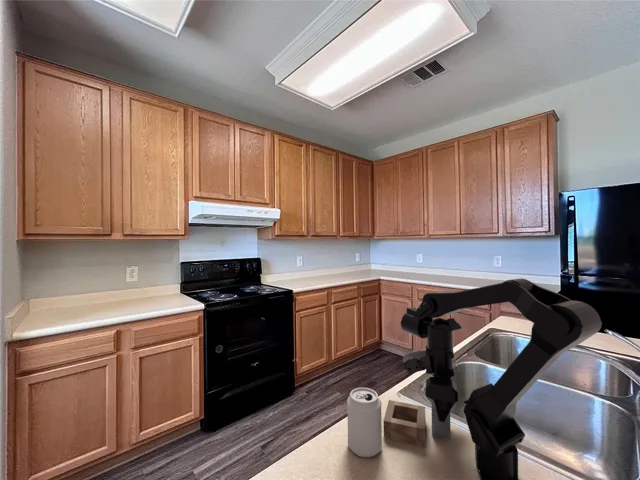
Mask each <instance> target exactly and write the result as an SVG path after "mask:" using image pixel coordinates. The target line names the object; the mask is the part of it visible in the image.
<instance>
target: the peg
mask: <svg viewBox="0 0 640 480" xmlns="http://www.w3.org/2000/svg"><path fill="white" fill-rule="evenodd" d="M430 400H431V437H435V438H440V439H444V440H449V441H451V439H452V438H451V437H452V436H451V431H452V430H451V411H450V412H449V414H448V416H447V418H446V420H445V422H440V421H439V419H438V415H437V411H436V407H435V403H434V401H433V400H432V399H430Z"/></svg>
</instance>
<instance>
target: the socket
mask: <svg viewBox="0 0 640 480" xmlns="http://www.w3.org/2000/svg"><path fill="white" fill-rule="evenodd" d="M426 423H427V422H426V406H424V405H417V404H413V403H408V402H403V401H397V400H391V399H388V402H387V406H386V409H385V414H384V417H383V438H384V439H388V440H393V441H396V442H401V443H405V444H410V445H414V446H418V447H421V448H426V447H425V445H426Z"/></svg>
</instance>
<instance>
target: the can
mask: <svg viewBox="0 0 640 480" xmlns="http://www.w3.org/2000/svg"><path fill="white" fill-rule="evenodd" d="M349 393H350V394H349V396H348V397H347V399H346V403H347V404H346V405H347V407H346V408H347V409H346V410H347V411H346V413H347V445H348V447H349V449H350V450H351V451H352V452H353V453H355V455H357V456H358V457H361V458H371V457H374V456H375V455H377V454H378V453H380V451H381V450H382V446H383V438H382V437H383V436H382V432H383V430H382V428H383V427H382V401H381V399H380V398H379V395H378V393H377V392H376V391H375V390H374V389H372V388H369V387H356V388H354V389H352V390H351V391H350V392H349Z"/></svg>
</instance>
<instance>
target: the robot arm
mask: <svg viewBox="0 0 640 480" xmlns="http://www.w3.org/2000/svg"><path fill="white" fill-rule="evenodd" d="M502 303H510V304H512V305H513V306H514V307H515V309H517V310H518V311H519V312H520V313H521V315H522V316H524V318H526V320H529V322H531V323H532V324H533V325H532V327H531V331H530V332H531V333H530V338H529V339H530V340H529V342H528V343H526V345H525V347H524V348H523V349H522V350H521V351H520V353H519V354H518V355H517V356H516V358H515V359H514V360H513V361H512V362H511V364H510V365H509V366H508V367H507V369H506V370H505V371H504V372H503V374H502V375H501V376H500V377H499V378H498V379H497V381H495V383H494V384H493V382H491V383H488V384H486V385H483V386H481V387H478V388H475V389H473V390H472V392H471V393H470V396H469V397H468V399H466V400H464V401H463V403H464V404H465V406H464V408H463V413H464V416H465V419H466V424H467V427H468V431H469V433H470V437H471V441H472V443H473V444H474V451H475V452H474V456H475V457H474V462H475V466H476V469H477V471H478V472H479V475H480V477H479V478H480V480H519V450H518V448H517V445H518V444H521V443H523V441H524V439H525V437H526V434H525V432H524V430H523V429H522V428H521V427H520V425H519V423H518V422H517V420H516V419H515V418H514V416H515V415H516V411H517V410H516V409H517V403H518V402H519V401H520V400H521V398H522V397H523V396H525V394H526V393H527V392H528V391H529V390H530V389H531V388H532V386H533V385H535V384H536V382H537V381H538V380H539V379H540V378H541V377H542V376H543V375H544V374H545V373H546V372H547V370H548V369H550V367H552V365H553V364H554V363H555V362H556V361H557V359H558V358H559V357H560V356H562V355H563V354H564V353H566V352H568V351H570V350H571V349H573V348H575V347H576V346H578V345H580V344H582V343H583V342H585V341H586V340H588V339H590V338H591V337H592V336H593V335H595V334H597V333H598V332H599V331H600V330H601V328H602V324H603V322H602V319H601V317H600V315H599V312H598V311H596V309H595V308H594V307H592V306H591V305H590V304H588V303H587V302H584V301H578V300H572V299H570V298H568V297H567V296H564V295H562V294H560V293H558V292H555V291H554V290H553V291H552V290H550V289H547V288H544V287H543V286H540V285H538V284H536V283H534V282H533V281H531V280H528V279H526V278H515V279H514V278H513V279H507V280H504V281H503V282H499V283H494V284H490V285H485V286H481V287H475V288H471V289H465V290H442V291H435V292H427V293H424V294H423V296H422V300H421V303H420V305H418V308H416V307H412V306H411V307H410V306H409V307H406V312H405V313H404V314H403V315H402V318H401V320H400V327H401V329H402V330H403V331H404V332H405V333H408V334H410V335H412V336H415V337H418V338H420V339H426V345H425V350H418V351H414V352H413V351H412V352H409V353H405V354H404V355H403V357H402V362H403V369H404V370H405V371H406V373H407V374H408V375H412V374H413V373H417V372H422V371H425V374H427V375H428V374H429V375H432V376H430V377H428V378H427V379H425V395H426V398H428V399H430V400H431V399H432V400H433V401H434V403H435V407H436V411H437V415H438V419H439V421H440V422H445V420H446V418H447V416H448V414H449V412H450V413H451V410H452V408H453V407H454V405H455V404H456V403H457V402H458V401H459V391H458V386H457V384H456V382H454V380H453V379H452V377H455V370H454V359H455V352H454V332H455V331H458V330H459V331H460V330H462V325H460V323H459V322H457V321H456V320H455V318H454V317H452V318H447V319H445V318H442V317H446V316H449V315H453V314H457V313H460V312H463V311H464V310H466V309H468V308H474V307H475V308H476V307H482V306H489V305H496V304H502Z"/></svg>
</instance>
